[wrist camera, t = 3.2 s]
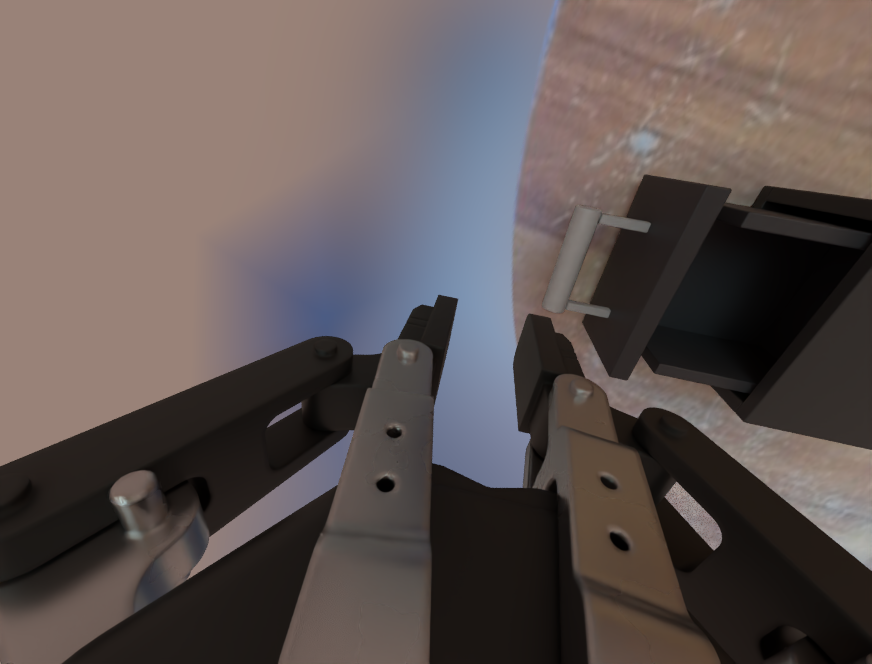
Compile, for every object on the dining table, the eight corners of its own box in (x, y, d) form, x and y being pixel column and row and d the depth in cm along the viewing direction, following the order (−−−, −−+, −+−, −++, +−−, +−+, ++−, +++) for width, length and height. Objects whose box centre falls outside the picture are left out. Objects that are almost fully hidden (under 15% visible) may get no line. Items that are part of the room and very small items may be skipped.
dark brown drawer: (527, 311, 29) (538, 361, 22) (576, 162, 23) (610, 167, 16) (746, 356, 28) (828, 424, 21) (853, 211, 22) (1015, 239, 15)
